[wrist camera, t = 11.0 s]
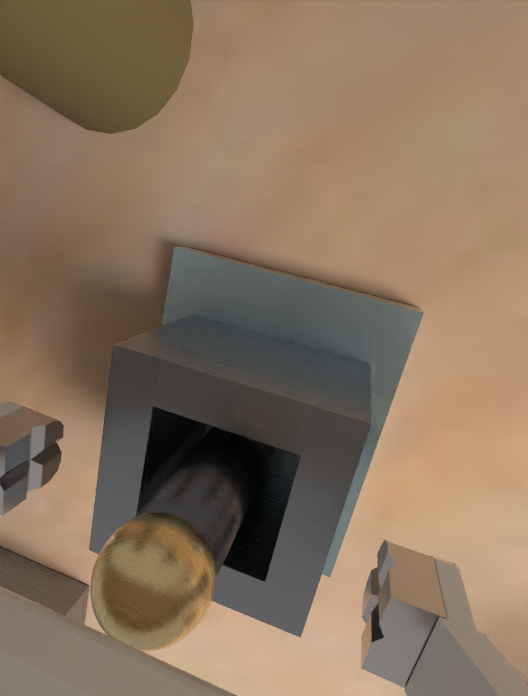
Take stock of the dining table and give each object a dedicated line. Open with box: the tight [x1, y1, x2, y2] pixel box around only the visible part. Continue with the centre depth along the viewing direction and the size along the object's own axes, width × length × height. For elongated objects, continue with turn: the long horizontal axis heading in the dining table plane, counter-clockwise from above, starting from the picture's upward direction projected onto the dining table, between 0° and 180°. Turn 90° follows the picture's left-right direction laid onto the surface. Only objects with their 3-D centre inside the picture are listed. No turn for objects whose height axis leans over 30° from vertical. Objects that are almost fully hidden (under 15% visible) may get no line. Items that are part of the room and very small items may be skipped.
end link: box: [89, 314, 371, 637], centre depth 12 cm, size 6×6×4 cm
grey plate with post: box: [91, 247, 423, 651], centre depth 11 cm, size 10×8×9 cm
